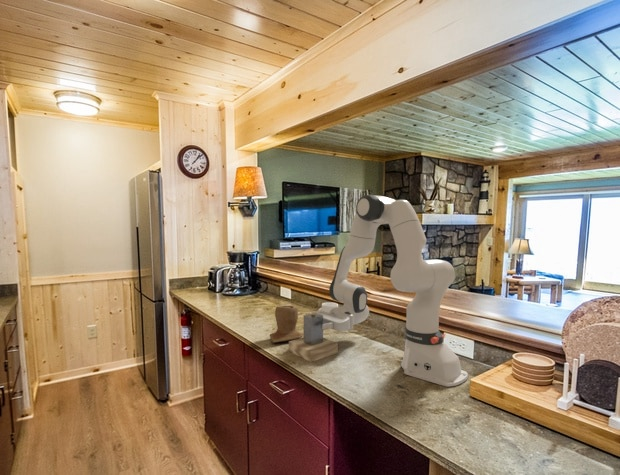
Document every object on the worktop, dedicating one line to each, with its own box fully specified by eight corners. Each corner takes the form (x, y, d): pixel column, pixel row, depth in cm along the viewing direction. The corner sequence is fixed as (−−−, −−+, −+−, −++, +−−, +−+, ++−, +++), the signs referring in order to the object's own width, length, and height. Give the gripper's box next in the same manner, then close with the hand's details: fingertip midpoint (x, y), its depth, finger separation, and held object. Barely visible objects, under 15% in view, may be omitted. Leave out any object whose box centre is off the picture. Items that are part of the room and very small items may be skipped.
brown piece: (293, 332, 165) (293, 301, 164) (305, 340, 155) (305, 306, 154) (263, 337, 158) (263, 305, 157) (274, 346, 147) (273, 311, 147)
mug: (320, 328, 171) (320, 307, 171) (312, 323, 179) (312, 304, 178) (341, 325, 177) (341, 305, 176) (332, 320, 184) (332, 301, 183)
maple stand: (337, 353, 140) (337, 343, 140) (310, 362, 131) (310, 351, 131) (315, 343, 151) (315, 334, 150) (288, 351, 142) (288, 341, 142)
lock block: (323, 342, 140) (323, 312, 140) (311, 345, 137) (311, 315, 136) (314, 339, 144) (315, 310, 144) (303, 342, 141) (303, 312, 140)
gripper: (322, 305, 157) (298, 310, 148) (356, 315, 141) (331, 321, 132) (322, 319, 157) (298, 325, 149) (356, 330, 142) (330, 338, 133)
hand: (313, 323), depth 140 cm, fingers open, 8 cm apart
